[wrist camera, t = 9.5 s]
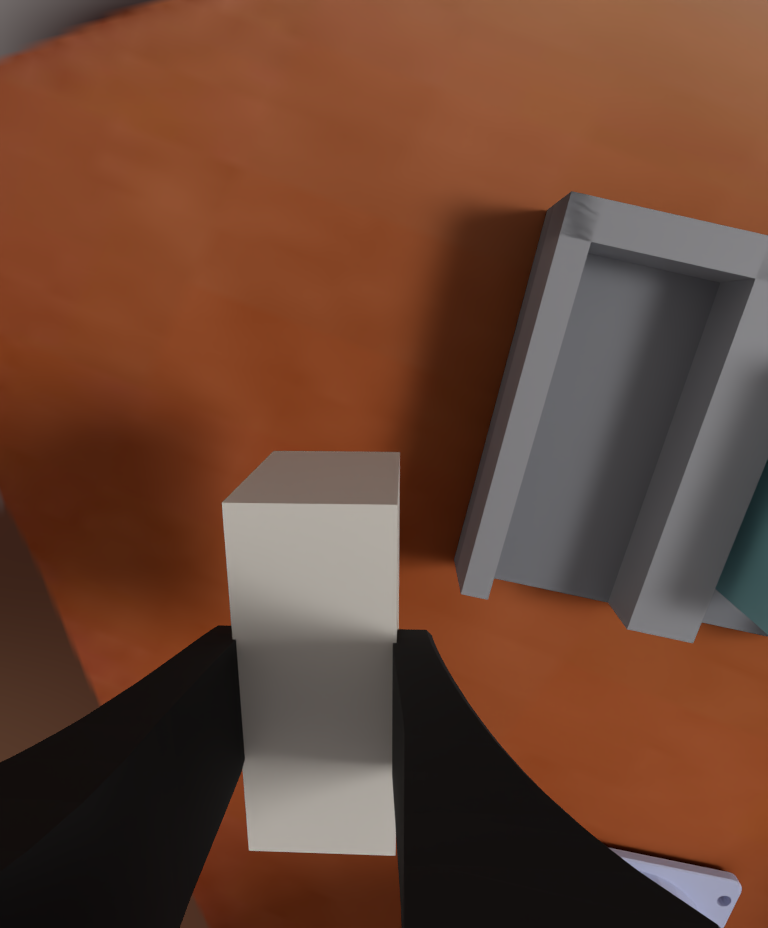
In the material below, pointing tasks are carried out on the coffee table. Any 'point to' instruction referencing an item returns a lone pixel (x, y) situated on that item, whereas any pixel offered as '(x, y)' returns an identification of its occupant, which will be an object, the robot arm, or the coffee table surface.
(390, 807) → the tall white block
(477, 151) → the coffee table surface
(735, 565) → the tall teal prism
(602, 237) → the grey two-slot rack
